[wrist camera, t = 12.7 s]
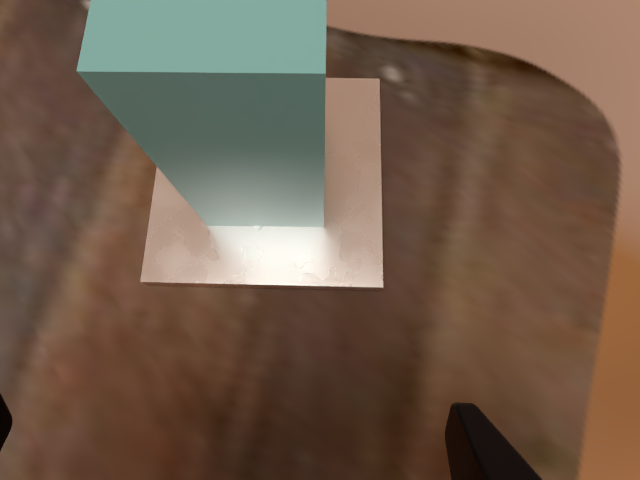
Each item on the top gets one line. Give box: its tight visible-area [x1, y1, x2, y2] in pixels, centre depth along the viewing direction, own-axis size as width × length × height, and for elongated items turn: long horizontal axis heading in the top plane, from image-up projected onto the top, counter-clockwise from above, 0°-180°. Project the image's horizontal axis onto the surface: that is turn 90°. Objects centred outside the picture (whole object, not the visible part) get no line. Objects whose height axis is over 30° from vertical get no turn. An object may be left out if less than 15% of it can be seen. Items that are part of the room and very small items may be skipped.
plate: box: [140, 78, 383, 291], centre depth 22 cm, size 12×12×4 cm
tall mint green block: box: [77, 0, 327, 227], centre depth 17 cm, size 6×6×12 cm
